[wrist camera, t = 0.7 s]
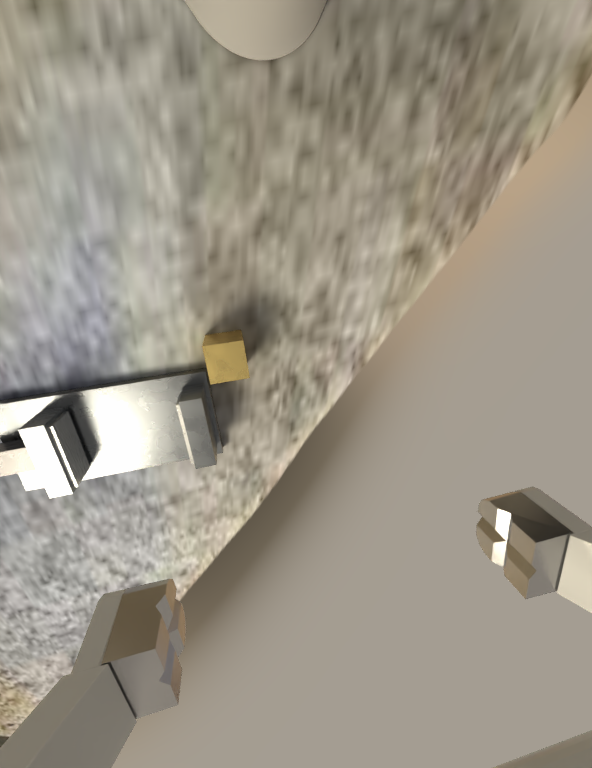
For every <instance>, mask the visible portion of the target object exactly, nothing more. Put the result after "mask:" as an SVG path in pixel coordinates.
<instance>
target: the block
mask: <svg viewBox="0 0 592 768" xmlns="http://www.w3.org/2000/svg"><path fill="white" fill-rule="evenodd" d="M202 348H203V352H204V357H205V362H206V366H207V371H208V376H209V380H210V384H216V383H222V382H228V381H234V380H241V379H247V378H250V377H249V371H248V365H247V359H246V353H245V347H244V341H243V336H242V332H241V330H236V331H229V332H222V333H215V334H208V335H205V338H204V342H203V346H202Z"/></svg>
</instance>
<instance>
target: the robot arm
mask: <svg viewBox="0 0 592 768" xmlns="http://www.w3.org/2000/svg"><path fill="white" fill-rule="evenodd" d="M184 1H185V2H186V4H187V5H188V6H189V8H190V9H191V11H192V12H193V14H194V15H195V17H196V18H197V20H198V21H199V22H200V24H201V25H202V26H203V28H204V29H205V30H206V31H207V32H208V33H209V34H210V35H211V36H212V37H213V38H214V39H215V40H216V41H217V42H218V43H220V44H221V45H222V46H223V47H225V48H226V49H228V50H230V51H231V52H233V53H235V54H237V55H240V56H242V57H245V58H249V59H254V60H272V59H277V58H280V57H283V56H285V55H287V54H289V53H291V52H293V51H294V50H295V49H297V48H298V47H299V46H300V45H302V44H303V43H304V41H305V40H306V39H307V38H308V37H309V36H310V34H311V33H312V31H313V30H314V28H315V26H316V25H317V22H318V20H319V18H320V16H321V13H322V11H323V9H324V6H325V4H326V2H327V0H184ZM478 512H479V514H480V515H481V516H482V518H481V519H480V521H479V522H478V523H477V526H476V535H477V539H478V542H479V544H480V546H481V548H482V550H483V551H484V553H485V554H486V555H487V557H488V558H489V559H490V560H491V561H492V562H494V563H496V564H498V565H500V566H503V568H504V575H505V577H506V578H507V579H508V580H509V581H510V582H511V583H512V585H513V586H514V587H515V588H516V589H517V590H518V591H519V592H520V593H521V595H522V596H523V597H524V598H525V599H528V598H532V597H535V596H540V595H543V594H547V593H551V592H555V591H557V593H558V594H560V595H561V596H563V597H565V598H567V599H569V600H570V601H572V602H574V603H575V604H577V605H579V606H580V607H582V608H584V609H585V610H587V611H589V612H591V613H592V527H591V526H590V525H589V524H587V523H586V522H584V521H583V520H582V519H580V518H579V517H577V516H576V515H575V514H573V513H572V512H570V511H569V510H567V509H566V508H565V507H563V506H562V505H561V504H559V503H558V502H556V501H555V500H554V499H552V498H551V497H549V496H548V495H547V494H545V493H544V492H543V491H541V490H540V489H538V488H535V487H530V488H525V489H521V490H518V491H515V492H510V493H506V494H502V495H498V496H495V497H491V498H487V499H483V500H481V502H480V503H479V506H478ZM176 590H177V589H176V586H175V584H174V581H173V579H167V580H162V581H158V582H153V583H149V584H144V585H140V586H135V587H131V588H127V589H124V590H119V591H115V592H111V593H106V594H104V595H103V596H102V597H101V598H100V600H99V601H98V603H97V606H96V609H95V611H94V614H93V617H92V619H91V622H90V625H89V627H88V630H87V633H86V635H85V638H84V641H83V643H82V646H81V648H80V651H79V654H78V656H77V659H76V662H75V664H74V667H73V670H72V672H71V674H69V675H66V676H63V677H62V678H61V679H60V680H59V682H58V683H57V684H56V685H55V686H54V687H53V688H52V690H51V691H50V692H49V693H48V694H47V695H46V696H45V698H44V699H43V700H42V701H41V702H40V703H39V704H38V706H37V707H36V708H35V709H34V710H33V711H32V712H31V714H30V715H29V716H28V717H27V718H26V719H25V720H24V722H23V723H22V724H21V725H20V726H19V727H18V728H17V730H16V731H15V732H14V733H13V734H12V735H11V736H10V738H9V739H8V740H7V741H6V742H5V743H4V744H3V746H2V747H1V748H0V768H111V767H112V766H113V764H114V762H115V760H116V758H117V756H118V755H119V753H120V751H121V749H122V748H123V746H124V744H125V742H126V740H127V738H128V737H129V735H130V733H131V731H132V729H133V728H134V726H135V724H136V719H137V718H140V717H143V716H146V715H149V714H152V713H155V712H158V711H161V710H164V709H167V708H170V707H173V706H175V705H178V702H179V693H180V684H181V675H182V667H181V665H180V662H179V659H178V657H179V655H180V654H181V652H182V650H183V649H184V647H185V636H186V629H185V615H184V609H183V607H182V603H181V602H180V601H178V600H176V599H175V597H176ZM493 768H592V730H591V731H589V732H586V733H583V734H581V735H578V736H575V737H573V738H570V739H567V740H565V741H562V742H559V743H557V744H554V745H551V746H549V747H546V748H543V749H541V750H538V751H536V752H533V753H530V754H528V755H525V756H522V757H520V758H517V759H514V760H512V761H509V762H506V763H504V764H501V765H499V766H496V767H493Z"/></svg>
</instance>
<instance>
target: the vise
mask: <svg viewBox="0 0 592 768" xmlns="http://www.w3.org/2000/svg"><path fill="white" fill-rule="evenodd" d="M58 407H65V410H66V411H68V412H69V414H70V417H71V419H72V422H73V424H74V427H75V430H76V432H77V435H78V437H79V440H80V442H81V445H82V447H83V450H84V452H85V455H86V457H87V460H88V463H89V465H90V468H89V470H88V471H87V473H86V475H85V476H84V478H83V479H82V480H86V479H91V478H96V477H101V476H106V475H112V474H117V473H122V472H127V471H132V470H137V469H142V468H147V467H152V466H158V465H163V464H168V463H173V462H178V461H183V460H188V459H190V462H191V464H193V463H194V464H195V468H196V469H197V468H202V467H207V466H212V465H216V464H217V454H219V453H223V445H222V440H221V435H220V431H219V426H218V421H217V417H216V412H215V408H214V403H213V398H212V394H211V389H210V384H209V380H208V375H207V370H206V368H202V369H196V370H190V371H184V372H177V373H171V374H165V375H158V376H152V377H146V378H140V379H133V380H127V381H121V382H114V383H108V384H102V385H95V386H89V387H83V388H77V389H70V390H64V391H58V392H51V393H45V394H39V395H32V396H26V397H20V398H14V399H7V400H1V401H0V439H1V441H2V443H5V442H11V441H16V440H22V438H21V435H20V433H19V431H18V429H20V428H21V427H22V426H23V425H24V424H26V423H27V422H28V421H29V420H30V419H32V418H33V417H34V416H35V415H36V414H38V413H39V412H40V411H41V410H46V409H52V408H58ZM18 475H19V477H20V479H21V481H22V483H23V485H24V487H25V489H26V491H30V490H35V489H40V488H45V487H44V485H43V483H42V481H41V478H40V476H39V474H38V472H37V470H32V471H27V472H22V473H18Z"/></svg>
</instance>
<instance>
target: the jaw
mask: <svg viewBox="0 0 592 768" xmlns="http://www.w3.org/2000/svg"><path fill="white" fill-rule="evenodd" d="M18 431H19V433H20V435H21V438H22V440H16V441H11V442H5V443H0V476H6V475H11V474H16V473H22V472H27V471H32V470H37V472H38V474H39V476H40V478H41V481H42V483H43V485H44V487H45V489H46V491H47V493H48V496H49V498H54V497H59V496H64V495H69V494H73V493H74V491H75V490H76V488H77V487H78V486H79V484H80V482H81V481H82V479H83V478H84V476H85V475H86V473H87V471H88V470H89V468H90V465H89V463H88V460H87V457H86V455H85V452H84V450H83V447H82V445H81V442H80V440H79V437H78V435H77V432H76V430H75V427H74V424H73V422H72V419H71V417H70V414H69V412H68V411H66V410H65V407H58V408H52V409H46V410H41V411H40V412H39V413H38V414H36V415H35V416H34V417H33V418H32V419H30V420H29V421H28V422H27V423H26V424H24V425H23V426H22V427H21V428H20V429H18Z"/></svg>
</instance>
